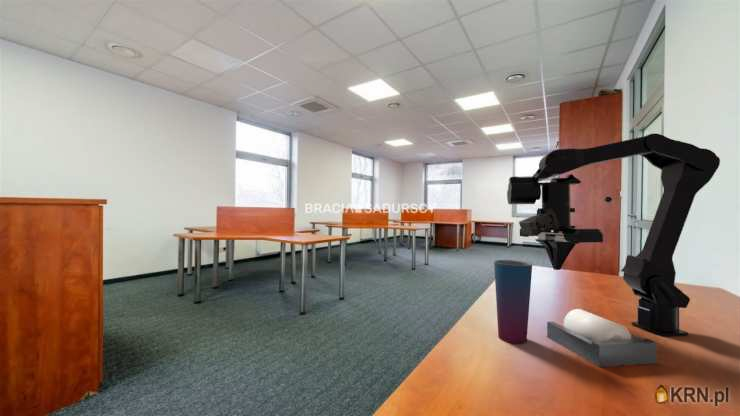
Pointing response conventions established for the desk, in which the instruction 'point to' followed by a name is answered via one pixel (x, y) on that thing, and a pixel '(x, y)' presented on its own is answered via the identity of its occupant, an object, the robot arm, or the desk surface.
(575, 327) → the roll
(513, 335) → the cup
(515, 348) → the desk surface
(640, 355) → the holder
